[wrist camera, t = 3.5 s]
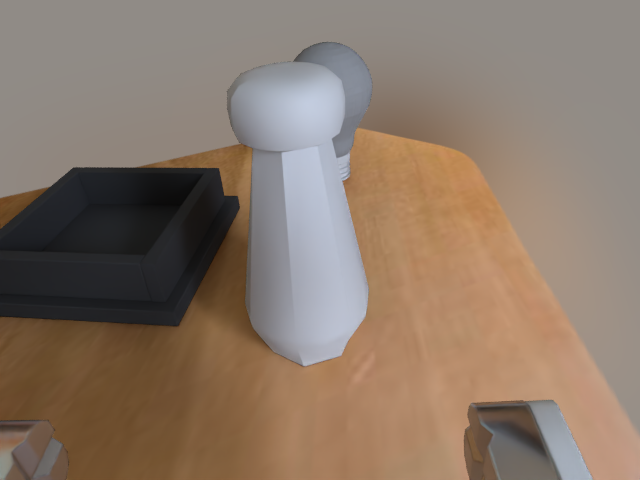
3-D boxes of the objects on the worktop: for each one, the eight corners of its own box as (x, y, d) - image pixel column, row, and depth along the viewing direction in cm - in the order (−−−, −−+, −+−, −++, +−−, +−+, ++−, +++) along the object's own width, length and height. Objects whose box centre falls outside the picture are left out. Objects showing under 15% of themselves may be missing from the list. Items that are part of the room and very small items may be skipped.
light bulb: (280, 193, 37) (264, 53, 32) (312, 159, 42) (302, 31, 36) (358, 204, 35) (354, 57, 30) (382, 167, 40) (383, 33, 34)
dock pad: (240, 207, 36) (232, 163, 34) (178, 326, 26) (162, 273, 24) (85, 205, 38) (69, 162, 36) (-26, 315, 28) (-57, 265, 26)
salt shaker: (268, 293, 28) (228, 50, 21) (371, 297, 27) (369, 45, 20) (239, 376, 23) (175, 98, 16) (364, 384, 22) (357, 95, 15)
